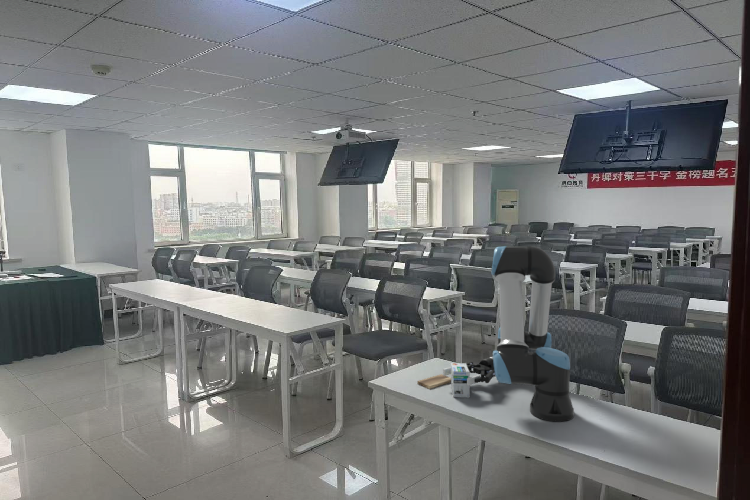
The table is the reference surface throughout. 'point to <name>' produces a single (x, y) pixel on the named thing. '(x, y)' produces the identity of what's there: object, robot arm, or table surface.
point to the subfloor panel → (434, 381)
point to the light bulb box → (460, 380)
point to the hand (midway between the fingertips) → (455, 377)
